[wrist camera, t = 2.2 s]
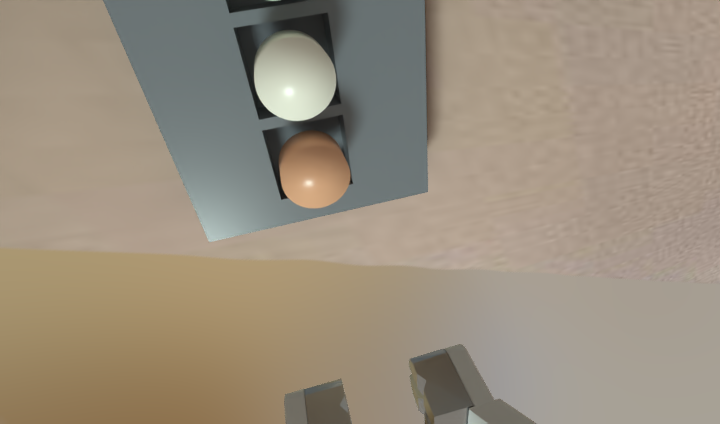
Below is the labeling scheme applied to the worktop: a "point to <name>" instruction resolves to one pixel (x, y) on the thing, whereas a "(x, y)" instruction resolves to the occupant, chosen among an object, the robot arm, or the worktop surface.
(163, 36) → the panel
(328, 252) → the worktop surface
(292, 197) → the terracotta button
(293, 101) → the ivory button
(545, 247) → the worktop surface
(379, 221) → the worktop surface
